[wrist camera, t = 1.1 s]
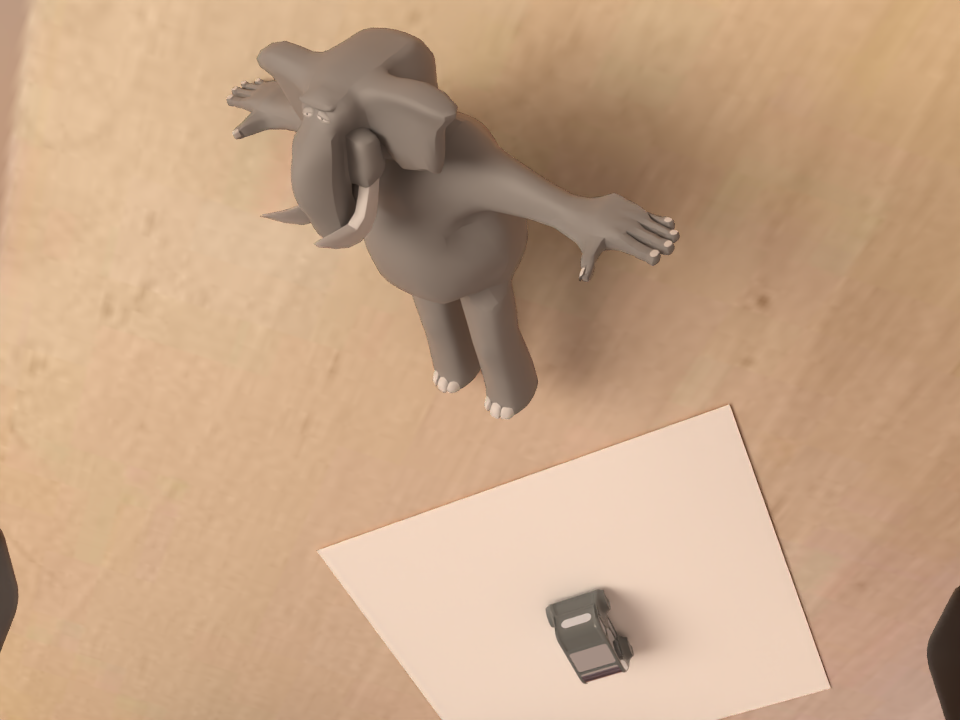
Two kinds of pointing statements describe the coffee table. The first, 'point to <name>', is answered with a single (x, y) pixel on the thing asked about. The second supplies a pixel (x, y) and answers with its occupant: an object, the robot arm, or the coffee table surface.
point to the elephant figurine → (428, 198)
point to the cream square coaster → (595, 589)
